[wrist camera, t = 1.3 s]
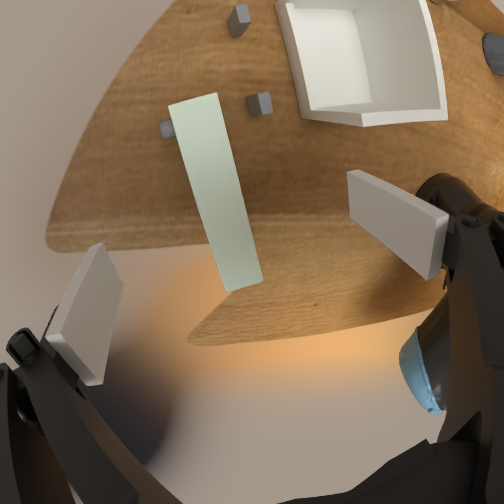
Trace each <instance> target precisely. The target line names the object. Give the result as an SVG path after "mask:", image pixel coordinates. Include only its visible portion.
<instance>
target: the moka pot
mask: <svg viewBox="0 0 504 504" xmlns="http://www.w3.org/2000/svg"><path fill="white" fill-rule="evenodd" d="M483 48H484V54H485V58H486V61H487V63H488V65H489V67H490V69H491V70H492V71H493V73H494V74H496V75H500V76H504V37H503V36H499V35H495V34H490V33H488V34H486V35H485V37H484V41H483Z"/></svg>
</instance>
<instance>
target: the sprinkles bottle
mask: <svg viewBox="0 0 504 504" xmlns="http://www.w3.org/2000/svg"><path fill="white" fill-rule="evenodd" d="M431 1H432V2H434V3H436V4H442V3H445V2H451V1H461V0H431Z"/></svg>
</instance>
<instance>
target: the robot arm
mask: <svg viewBox="0 0 504 504" xmlns="http://www.w3.org/2000/svg"><path fill="white" fill-rule="evenodd" d="M347 182H348V195H349V210H350V218H351V219H352V220H353V221H355V222H356V223H357V224H358V225H360V226H361V227H362V228H364V229H365V230H366V231H368V232H369V233H370V234H371V235H373V236H374V237H375V238H376V239H378V240H379V241H380V242H381V243H383V244H384V245H385V246H386V247H388V248H389V249H390V250H391V251H392V252H394V253H395V254H396V255H397V256H398V257H400V258H401V259H402V260H403V261H404V262H406V263H407V264H408V265H409V266H410V267H411V268H413V269H414V270H415V271H416V272H417V273H418V274H419V275H421V276H422V277H423V278H424V279H425V280H426V281H428V280H430V279H432V278H434V277H436V276H438V275H439V274H440V269H445V270H447V271H446V275H445V280H444V284H443V289H445V286H446V285H447V290H448V291H447V293H446V294H445V295H444V297H443V298H442V299H441V301H440V302H439V303H438V304H437V306H436V307H435V308H434V309H433V311H432V312H431V313H430V314H429V315H428V317H427V318H426V319H425V320H424V321H423V323H422V324H421V325H420V326H417V327H416V329H415V332H414V333H413V334H412V336H411V337H410V338H409V339H408V340H407V342H406V343H405V344H404V345H403V346H402V348H401V351H400V353H399V364H400V367H401V371H402V374H403V376H404V379H405V381H406V383H407V385H408V387H409V389H410V390H411V392H412V394H413V395H414V396H415V398H416V399H417V401H418V402H419V403H420V405H421V406H422V407H423V408H424V409H427V411H428V412H429V413H430V414H433V415H435V414H438V413H441V412H442V411H443V410H446V411H447V413H446V418H445V421H444V424H443V426H442V428H441V430H440V433H439V436H438V440H437V443H433V444H429V442H428V441H427V439H425V440H423V441H422V442H420V443H419V444H417V445H416V446H414V447H412V448H410V449H409V450H407V451H405V452H404V453H402V454H400V455H398V456H397V457H395V458H393V459H391V460H389V461H388V462H387V463H385V464H384V465H383V466H382V467H381V468H380V469H378V470H377V471H376V472H375V473H373V474H372V475H371V476H369V477H368V478H367V479H365V480H364V481H363V482H361V483H360V484H359V485H357V486H356V487H355V488H353V489H352V490H350V491H348V492H344V493H339V494H333V495H326V496H318V497H310V498H299V499H293V500H290V501H286V502H283V503H279V504H504V212H500V211H498V210H497V209H495V208H493V207H491V206H489V205H487V204H485V203H484V202H483V201H482V200H481V199H480V198H479V197H478V196H477V195H476V194H475V193H474V192H473V191H472V190H471V189H470V188H469V187H468V186H467V185H466V184H465V183H464V182H463V181H462V180H460V179H459V178H457V177H454V176H452V175H449V174H438V175H436V176H434V177H432V178H430V179H429V180H428V181H427V182H426V183H425V184H424V185H423V186H422V187H421V189H420V190H419V191H418V193H417V194H416V196H414V195H412V194H410V193H408V192H406V191H404V190H402V189H400V188H398V187H396V186H394V185H392V184H390V183H388V182H386V181H383V180H381V179H379V178H377V177H375V176H373V175H370V174H368V173H366V172H364V171H361V170H359V169H357V170H353V171H348V172H347ZM123 286H124V284H123V283H122V281H121V279H120V277H119V275H118V273H117V271H116V269H115V267H114V265H113V263H112V261H111V259H110V257H109V255H108V253H107V250H106V248H105V246H104V244H103V242H101V243H98V244H95V245H92V246H90V248H89V250H88V251H87V253H86V255H85V257H84V258H83V260H82V262H81V263H80V265H79V267H78V269H77V271H76V273H75V275H74V277H73V278H72V280H71V282H70V284H69V286H68V288H67V290H66V292H65V294H64V296H63V298H62V300H61V302H60V304H59V305H58V306H57V307H56V308H55V310H54V312H53V314H52V316H51V319H50V321H49V323H48V326H47V328H46V330H45V332H44V334H43V337H42V339H41V341H40V342H39V341H38V340H37V339H36V337H35V336H34V335H33V333H32V332H31V331H30V329H29V328H22V329H20V330H19V331H17V332H16V333H15V334H14V335H13V336H12V337H11V338H10V340H9V341H8V344H7V346H6V351H7V352H8V353H9V354H10V356H11V357H12V358H13V359H14V360H15V361H16V363H17V364H18V365H19V366H20V367H19V368H17V369H15V370H13V371H12V370H11V369H10V368H9V366H8V365H7V364H6V363H1V364H0V504H76V503H75V501H74V498H73V495H72V493H71V490H70V488H69V485H68V482H67V479H66V476H67V478H68V480H69V481H70V483H71V485H72V486H73V488H74V490H75V491H76V492H77V494H78V496H79V497H80V499H81V500H82V502H83V503H84V504H183V503H182V502H181V501H179V500H178V499H177V498H176V497H175V496H174V495H172V494H171V493H170V492H169V491H168V490H167V489H166V488H165V487H163V486H162V485H161V484H160V483H159V482H158V481H157V480H156V479H155V478H154V477H153V476H152V475H151V474H150V473H149V472H148V471H147V470H146V469H145V468H144V467H143V466H142V465H141V464H140V463H139V461H138V460H137V459H136V458H135V457H134V456H133V455H132V454H131V453H130V452H129V450H128V449H127V448H126V447H125V446H124V445H123V444H122V442H121V441H120V440H119V439H118V438H117V436H116V435H115V434H114V433H113V432H112V430H111V429H110V428H109V426H108V425H107V424H106V423H105V421H104V420H103V419H102V417H101V416H100V415H99V413H98V412H97V411H96V409H95V408H94V406H93V405H92V404H91V402H90V401H89V399H88V398H87V396H86V395H85V394H84V392H83V390H82V389H81V388H80V387H79V386H78V385H77V382H78V378H80V379H81V380H82V381H83V382H84V383H85V384H86V385H87V386H91V385H98V384H103V378H104V372H105V366H106V361H107V356H108V350H109V345H110V340H111V335H112V331H113V326H114V322H115V318H116V314H117V309H118V305H119V301H120V297H121V294H122V289H123ZM18 413H19V414H20V415H21V416H23V420H22V419H21V418H20V416H19V415H18ZM65 475H66V476H65Z"/></svg>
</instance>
